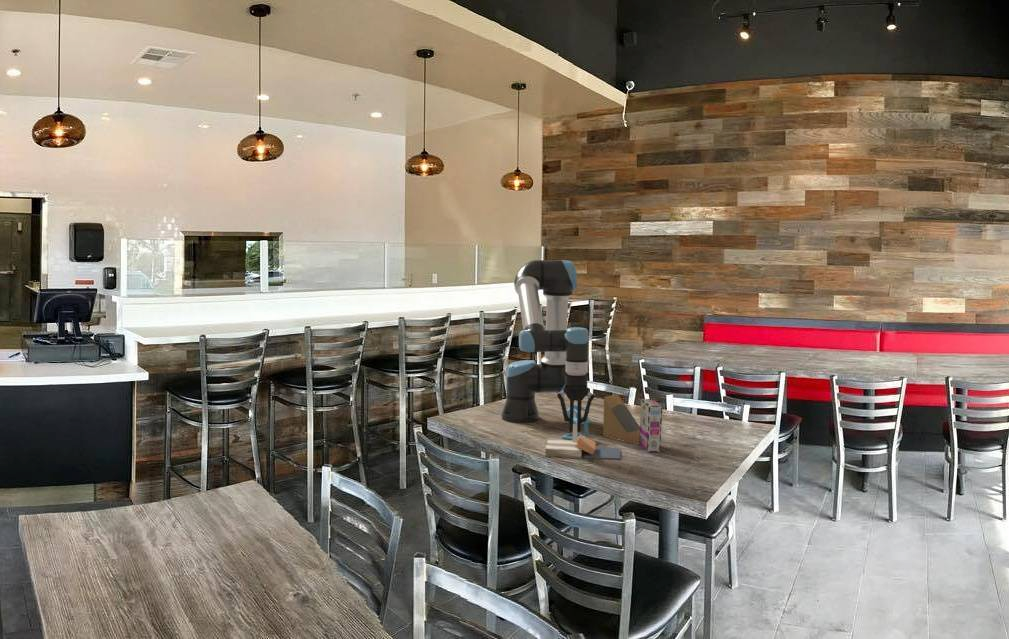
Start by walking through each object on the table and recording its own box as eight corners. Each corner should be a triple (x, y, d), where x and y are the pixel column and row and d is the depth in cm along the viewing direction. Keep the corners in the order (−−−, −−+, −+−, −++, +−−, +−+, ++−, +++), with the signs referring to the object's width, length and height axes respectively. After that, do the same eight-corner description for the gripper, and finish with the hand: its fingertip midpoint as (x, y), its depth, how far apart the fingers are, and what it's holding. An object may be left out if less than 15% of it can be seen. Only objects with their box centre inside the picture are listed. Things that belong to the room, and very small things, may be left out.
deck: (547, 445, 244) (548, 438, 244) (582, 447, 242) (582, 440, 242) (545, 456, 232) (545, 448, 232) (581, 457, 231) (581, 450, 230)
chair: (580, 443, 248) (580, 410, 247) (561, 438, 254) (562, 406, 252) (592, 438, 254) (593, 406, 252) (574, 434, 259) (575, 403, 258)
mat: (585, 447, 242) (585, 446, 242) (619, 449, 241) (619, 447, 241) (584, 458, 231) (584, 456, 230) (620, 459, 229) (620, 458, 229)
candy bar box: (661, 452, 238) (663, 405, 236) (647, 452, 237) (648, 405, 235) (652, 443, 249) (653, 398, 247) (638, 443, 248) (640, 398, 246)
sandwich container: (636, 445, 247) (637, 403, 245) (602, 436, 258) (603, 396, 256) (650, 440, 253) (651, 400, 251) (616, 432, 264) (617, 393, 262)
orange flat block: (577, 439, 241) (579, 434, 240) (593, 447, 240) (595, 442, 240) (576, 446, 232) (578, 441, 232) (592, 454, 231) (595, 449, 231)
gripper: (556, 374, 231) (555, 443, 234) (595, 376, 229) (593, 445, 232) (557, 370, 238) (556, 437, 241) (596, 372, 237) (594, 439, 239)
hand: (574, 441), depth 236 cm, fingers closed
